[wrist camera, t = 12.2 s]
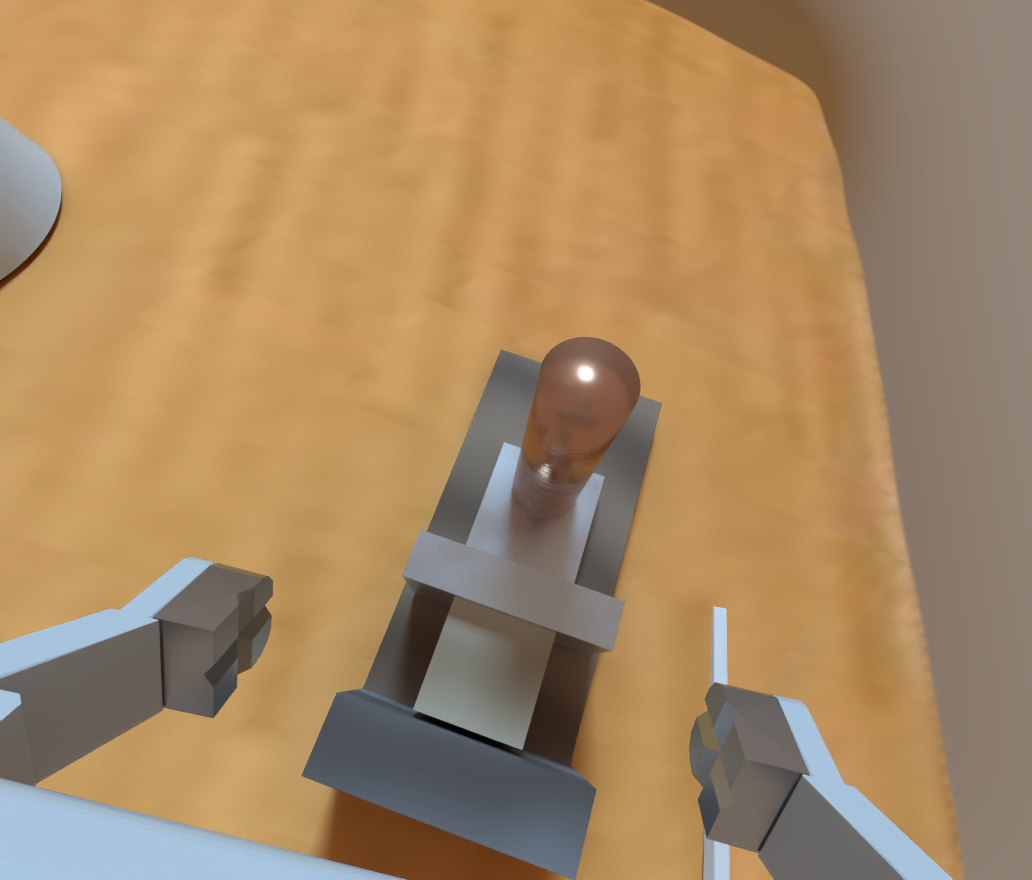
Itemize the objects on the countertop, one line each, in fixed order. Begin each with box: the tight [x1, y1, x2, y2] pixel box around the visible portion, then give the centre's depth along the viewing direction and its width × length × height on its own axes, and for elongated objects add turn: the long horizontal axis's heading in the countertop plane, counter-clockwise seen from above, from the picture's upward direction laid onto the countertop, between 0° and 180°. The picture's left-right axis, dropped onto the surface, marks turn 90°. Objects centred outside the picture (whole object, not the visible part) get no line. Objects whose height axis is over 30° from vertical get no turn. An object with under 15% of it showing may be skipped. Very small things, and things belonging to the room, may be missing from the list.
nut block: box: [413, 597, 556, 750], centre depth 22 cm, size 4×4×4 cm
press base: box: [302, 350, 662, 880], centre depth 24 cm, size 20×9×6 cm, turn 162°
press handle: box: [402, 337, 640, 655], centre depth 20 cm, size 8×8×11 cm
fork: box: [703, 607, 730, 880], centre depth 23 cm, size 3×20×2 cm, turn 171°
